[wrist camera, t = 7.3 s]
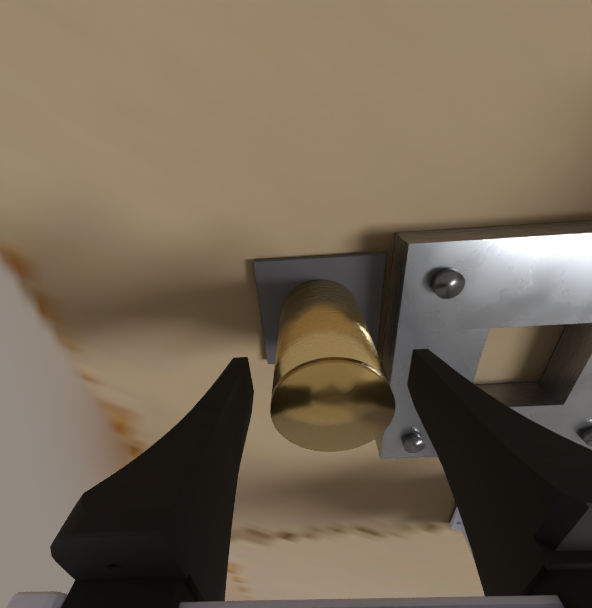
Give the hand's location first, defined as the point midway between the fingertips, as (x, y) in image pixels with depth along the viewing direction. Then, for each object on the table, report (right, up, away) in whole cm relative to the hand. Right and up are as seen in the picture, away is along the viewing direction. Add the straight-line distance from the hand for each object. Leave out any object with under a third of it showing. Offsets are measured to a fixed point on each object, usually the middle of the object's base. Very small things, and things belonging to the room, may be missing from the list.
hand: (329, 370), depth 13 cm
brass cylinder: (0, +2, +4) cm, 5 cm away
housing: (+12, 0, +6) cm, 14 cm away
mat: (0, +3, +4) cm, 5 cm away
